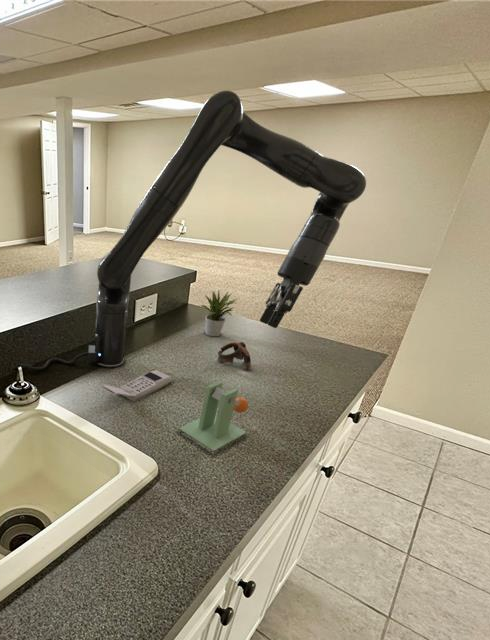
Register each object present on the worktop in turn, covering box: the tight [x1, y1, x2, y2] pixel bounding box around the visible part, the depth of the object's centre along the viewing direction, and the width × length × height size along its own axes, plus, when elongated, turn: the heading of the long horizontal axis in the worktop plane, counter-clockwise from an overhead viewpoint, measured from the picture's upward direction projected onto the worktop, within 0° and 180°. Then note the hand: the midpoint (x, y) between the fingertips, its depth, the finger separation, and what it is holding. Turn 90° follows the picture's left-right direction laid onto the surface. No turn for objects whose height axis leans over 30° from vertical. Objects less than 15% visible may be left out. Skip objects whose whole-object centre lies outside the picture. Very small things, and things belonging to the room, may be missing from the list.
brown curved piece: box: [217, 341, 252, 371], centre depth 127 cm, size 12×10×8 cm
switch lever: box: [212, 387, 249, 413], centre depth 93 cm, size 14×4×4 cm
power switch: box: [178, 380, 248, 452], centre depth 91 cm, size 12×10×13 cm
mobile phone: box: [101, 369, 175, 402], centre depth 109 cm, size 6×6×25 cm
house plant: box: [200, 289, 238, 337], centre depth 144 cm, size 14×14×16 cm
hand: (267, 324), depth 99 cm, fingers open, 8 cm apart
